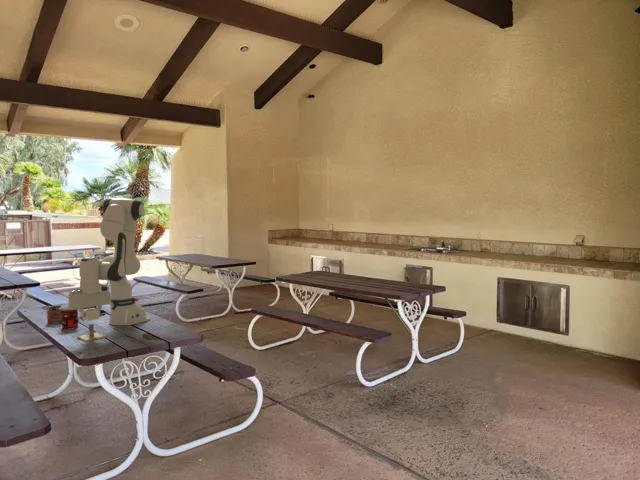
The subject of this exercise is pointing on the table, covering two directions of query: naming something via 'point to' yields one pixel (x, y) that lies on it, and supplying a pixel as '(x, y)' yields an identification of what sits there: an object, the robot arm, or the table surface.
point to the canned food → (69, 318)
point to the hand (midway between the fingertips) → (90, 315)
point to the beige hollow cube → (91, 314)
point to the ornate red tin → (54, 315)
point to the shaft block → (91, 335)
